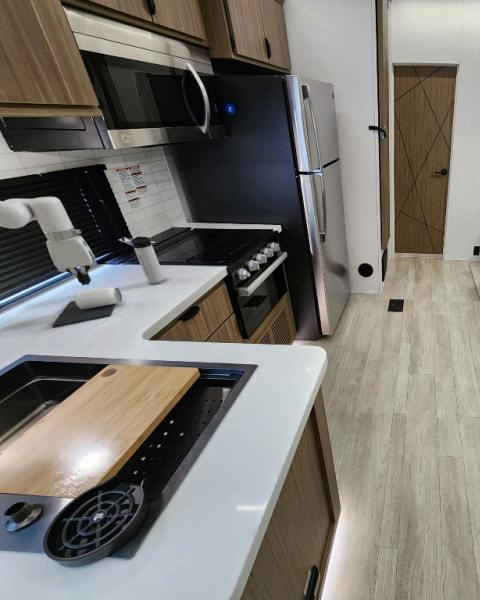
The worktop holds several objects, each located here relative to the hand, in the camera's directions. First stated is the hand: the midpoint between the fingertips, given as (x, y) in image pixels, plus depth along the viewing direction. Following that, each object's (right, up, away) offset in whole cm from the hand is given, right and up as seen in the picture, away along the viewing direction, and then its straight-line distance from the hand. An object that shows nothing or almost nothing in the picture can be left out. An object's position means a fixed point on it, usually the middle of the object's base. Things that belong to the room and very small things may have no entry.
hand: (86, 283), depth 121 cm
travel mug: (+7, +2, +25) cm, 26 cm away
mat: (-2, -10, +4) cm, 11 cm away
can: (-4, -7, +1) cm, 8 cm away
